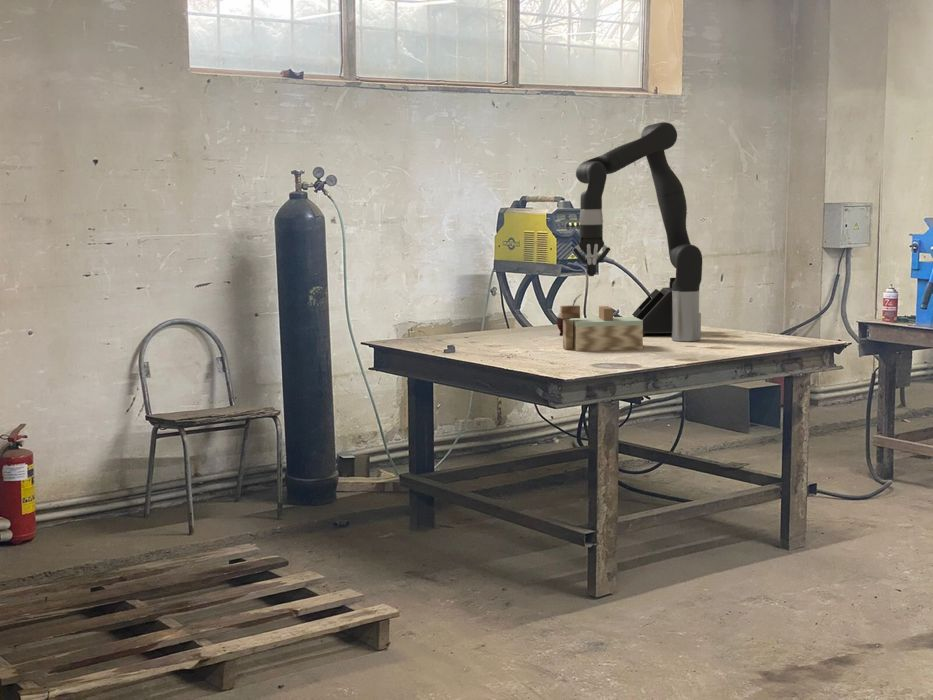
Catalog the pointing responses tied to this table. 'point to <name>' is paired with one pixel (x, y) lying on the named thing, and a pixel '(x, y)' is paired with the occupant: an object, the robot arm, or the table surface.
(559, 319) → the mate gourd
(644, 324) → the voltmeter
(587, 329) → the toolbox
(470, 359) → the table surface
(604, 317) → the lid
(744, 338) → the table surface
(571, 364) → the table surface
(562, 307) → the wooden block
